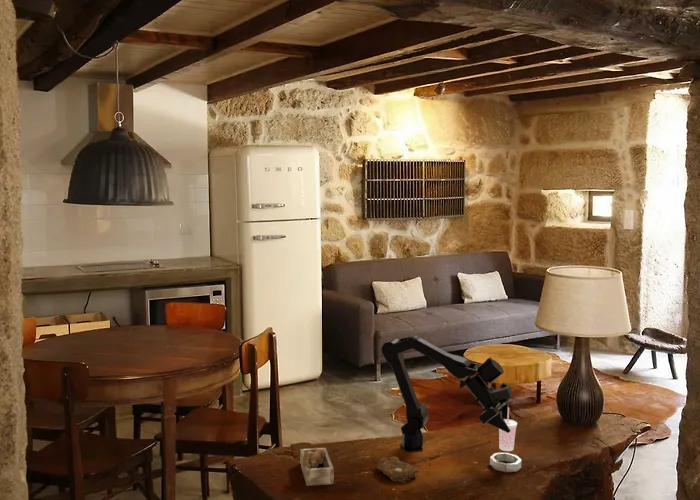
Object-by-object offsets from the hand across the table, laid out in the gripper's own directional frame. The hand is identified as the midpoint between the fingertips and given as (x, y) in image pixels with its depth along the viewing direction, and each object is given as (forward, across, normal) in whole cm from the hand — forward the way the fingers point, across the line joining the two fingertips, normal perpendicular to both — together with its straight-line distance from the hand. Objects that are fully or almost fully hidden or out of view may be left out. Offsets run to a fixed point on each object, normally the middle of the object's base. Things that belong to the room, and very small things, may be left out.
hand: (511, 428), depth 234 cm
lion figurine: (-28, -36, +47) cm, 66 cm away
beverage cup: (+4, 0, +6) cm, 7 cm away
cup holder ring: (+8, -1, +10) cm, 13 cm away
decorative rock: (-13, -24, +32) cm, 42 cm away
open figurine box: (-28, -36, +47) cm, 66 cm away
